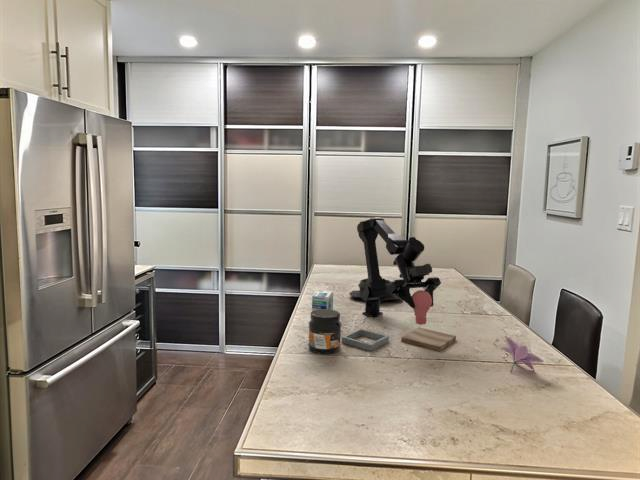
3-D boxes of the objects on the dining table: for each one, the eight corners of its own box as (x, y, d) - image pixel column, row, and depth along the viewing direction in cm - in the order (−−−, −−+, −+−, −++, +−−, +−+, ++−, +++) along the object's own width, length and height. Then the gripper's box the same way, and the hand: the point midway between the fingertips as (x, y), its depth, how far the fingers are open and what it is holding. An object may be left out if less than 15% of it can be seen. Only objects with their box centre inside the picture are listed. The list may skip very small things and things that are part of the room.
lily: (545, 384, 125) (553, 351, 127) (509, 369, 123) (518, 336, 126) (518, 379, 136) (525, 349, 139) (484, 365, 135) (493, 335, 137)
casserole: (348, 302, 202) (348, 284, 200) (350, 292, 220) (350, 276, 219) (403, 305, 199) (404, 287, 198) (401, 295, 217) (401, 278, 216)
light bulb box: (328, 324, 169) (329, 297, 168) (311, 323, 170) (311, 295, 169) (333, 316, 179) (333, 290, 178) (316, 315, 181) (317, 289, 179)
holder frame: (359, 333, 159) (360, 328, 159) (388, 341, 152) (388, 335, 152) (341, 342, 150) (341, 336, 150) (371, 351, 143) (371, 345, 143)
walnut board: (418, 331, 164) (418, 327, 164) (455, 340, 156) (455, 335, 155) (401, 341, 153) (401, 337, 153) (439, 351, 145) (440, 346, 144)
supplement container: (317, 356, 137) (318, 319, 136) (302, 345, 147) (303, 310, 145) (346, 351, 142) (347, 315, 141) (330, 341, 152) (331, 307, 150)
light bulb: (404, 323, 153) (407, 289, 151) (418, 320, 157) (420, 287, 155) (421, 329, 147) (423, 294, 146) (434, 325, 151) (437, 291, 150)
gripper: (393, 256, 149) (410, 297, 141) (439, 254, 156) (458, 293, 147) (381, 274, 157) (395, 313, 149) (425, 272, 164) (441, 309, 156)
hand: (423, 307), depth 150 cm, fingers closed on light bulb, 7 cm apart
